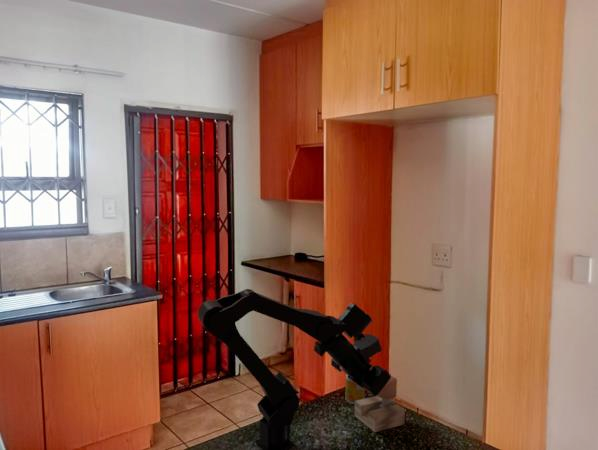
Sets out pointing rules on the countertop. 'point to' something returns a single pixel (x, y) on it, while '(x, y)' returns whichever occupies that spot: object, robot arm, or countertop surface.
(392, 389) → the knob
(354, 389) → the supplement bottle
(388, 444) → the countertop surface
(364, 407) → the knob track
